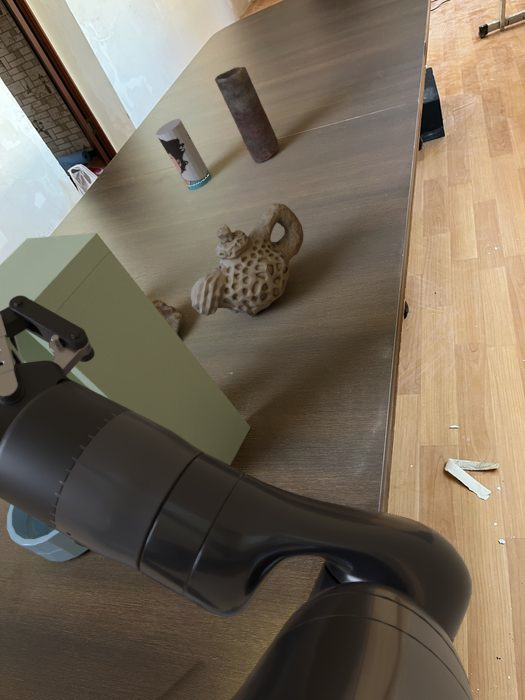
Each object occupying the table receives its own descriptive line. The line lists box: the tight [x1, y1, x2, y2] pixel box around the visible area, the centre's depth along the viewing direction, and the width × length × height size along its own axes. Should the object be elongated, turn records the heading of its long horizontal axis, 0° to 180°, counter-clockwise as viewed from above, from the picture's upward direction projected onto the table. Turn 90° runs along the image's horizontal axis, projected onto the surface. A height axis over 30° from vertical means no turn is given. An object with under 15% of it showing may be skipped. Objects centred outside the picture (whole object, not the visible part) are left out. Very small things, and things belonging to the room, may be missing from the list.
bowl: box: [6, 503, 89, 562], centre depth 65 cm, size 14×14×6 cm
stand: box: [0, 232, 251, 466], centre depth 55 cm, size 10×12×32 cm
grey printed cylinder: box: [155, 118, 212, 191], centre depth 121 cm, size 7×7×15 cm
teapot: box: [190, 202, 305, 318], centre depth 76 cm, size 21×12×15 cm, turn 123°
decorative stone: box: [151, 299, 182, 335], centre depth 84 cm, size 10×4×15 cm
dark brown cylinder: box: [214, 66, 280, 164], centre depth 113 cm, size 8×7×20 cm
